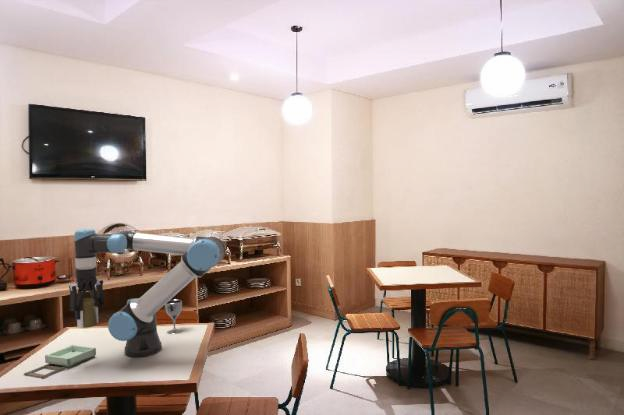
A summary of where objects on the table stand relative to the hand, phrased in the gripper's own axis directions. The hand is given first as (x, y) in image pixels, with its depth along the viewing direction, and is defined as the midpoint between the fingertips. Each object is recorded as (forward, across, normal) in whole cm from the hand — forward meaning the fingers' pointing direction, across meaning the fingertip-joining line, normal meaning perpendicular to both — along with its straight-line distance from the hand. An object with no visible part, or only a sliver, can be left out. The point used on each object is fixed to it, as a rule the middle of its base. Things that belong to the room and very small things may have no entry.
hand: (88, 324), depth 177 cm
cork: (0, 0, 0) cm, 1 cm away
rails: (+16, +6, -9) cm, 19 cm away
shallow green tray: (+16, +1, -10) cm, 19 cm away
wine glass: (+16, -46, +1) cm, 48 cm away
